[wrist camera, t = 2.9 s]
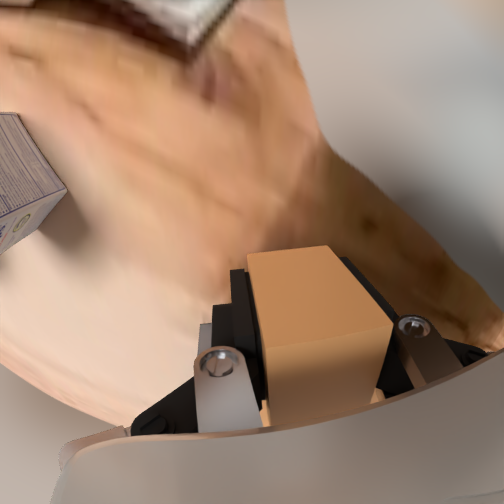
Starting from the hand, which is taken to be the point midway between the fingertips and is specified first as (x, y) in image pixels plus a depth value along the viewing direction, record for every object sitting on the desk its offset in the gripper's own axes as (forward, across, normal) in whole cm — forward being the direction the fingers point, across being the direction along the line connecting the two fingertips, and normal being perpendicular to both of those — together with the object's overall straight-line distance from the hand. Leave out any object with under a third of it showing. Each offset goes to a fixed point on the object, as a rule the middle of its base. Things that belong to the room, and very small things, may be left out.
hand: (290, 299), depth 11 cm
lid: (0, 0, +10) cm, 10 cm away
